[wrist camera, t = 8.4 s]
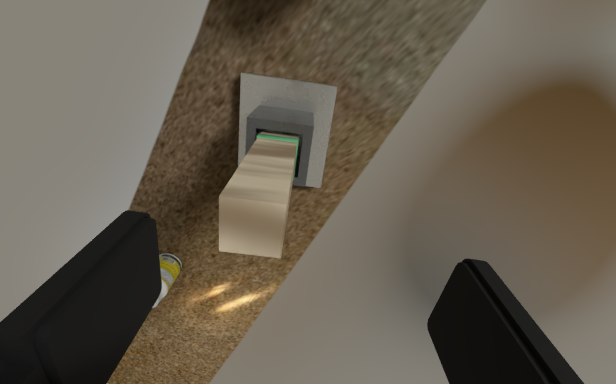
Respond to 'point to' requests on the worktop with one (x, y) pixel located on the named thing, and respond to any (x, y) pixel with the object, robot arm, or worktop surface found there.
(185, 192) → the worktop surface
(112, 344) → the robot arm
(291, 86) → the stand base
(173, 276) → the supplement bottle
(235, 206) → the column
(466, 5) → the worktop surface
